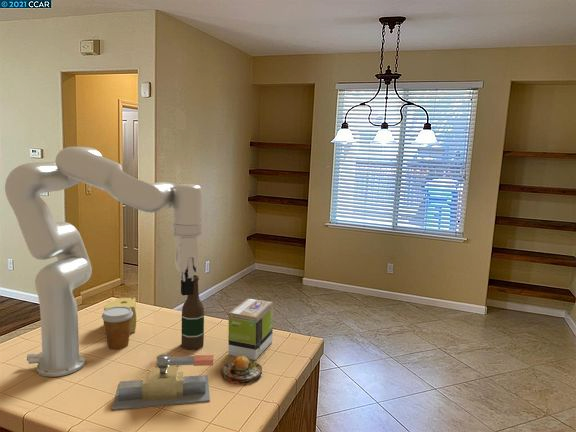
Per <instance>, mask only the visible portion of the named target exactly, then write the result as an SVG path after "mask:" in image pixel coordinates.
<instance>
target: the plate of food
mask: <svg viewBox="0 0 576 432" xmlns="http://www.w3.org/2000/svg"><path fill="white" fill-rule="evenodd" d="M261 374H262V375H263V368H262V366H261V364H260V363H258V362H256V361H255V360H252V359H248V358H247V357H245V356H238V357H237V356H236V357H235V359H234V360H232V361H229V362H226V363H225V364H224V365H223V366H222V369H221V377H222V378H223V379H225V380H227V381H228V382H229V383H231V384H235V383H236V385H247V384H248V385H249V384H252V383H255V382H257V381H259V380H260V379H261V378H262V376H261Z"/></svg>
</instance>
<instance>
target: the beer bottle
mask: <svg viewBox="0 0 576 432" xmlns="http://www.w3.org/2000/svg"><path fill="white" fill-rule="evenodd" d="M199 280H200V279H199V275H196V274H194V277H193V281H194V287H193V295H186V296H187V297H186V300H185V301H184V303H183V305H182V310H181V347H182V348H183V349H185V350H187V351H192V350H193V351H194V350H199V349H200V348H201V349H202V348H203V347H204V340H205V337H204V336H205V308H204V305H203V302H202V300H201V299H200V295H199V294H200V293H199Z"/></svg>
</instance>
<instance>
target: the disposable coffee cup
mask: <svg viewBox="0 0 576 432" xmlns="http://www.w3.org/2000/svg"><path fill="white" fill-rule="evenodd" d="M132 315H133V312H132V310H131V308H129V307H125V306H117V307H111V308H108V309H106V310H104V309H103V312H102V314H101V318H102V320H104V321H103V327H104V326H105V331H104V334H105V333H106V335H105V338H106V344H107V348H108V350H109V349H110V350H113V351H118V350H123V349H125V348H127V347H128V346H129V342H130V341H129V340H130V335H131V333H130V326H131V317H132Z"/></svg>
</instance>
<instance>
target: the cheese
mask: <svg viewBox="0 0 576 432" xmlns="http://www.w3.org/2000/svg"><path fill="white" fill-rule="evenodd" d="M136 301H137V300H136V297H121V298H116V299H115V300H112V301H108V302H107V301H106V303H105V304H104V306H103V311H104V310H106V309H108V308H111V307H117V306H125V307H129V308H131V310H132V312H133V315H132V317H131V326H130V334H132V333H136V328H137V309H136V308H137V307H136V306H137V302H136ZM102 320H103V319H102ZM102 322H104V320H103V321H102ZM103 331H104V335H105V336H106V333H105V326H104V325H103Z"/></svg>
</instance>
